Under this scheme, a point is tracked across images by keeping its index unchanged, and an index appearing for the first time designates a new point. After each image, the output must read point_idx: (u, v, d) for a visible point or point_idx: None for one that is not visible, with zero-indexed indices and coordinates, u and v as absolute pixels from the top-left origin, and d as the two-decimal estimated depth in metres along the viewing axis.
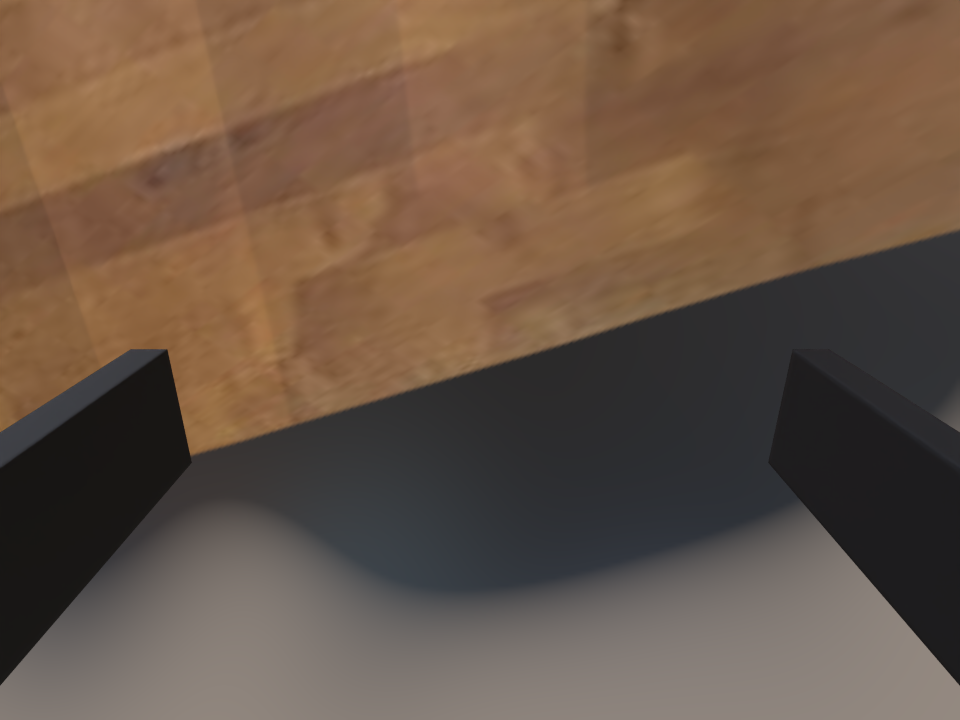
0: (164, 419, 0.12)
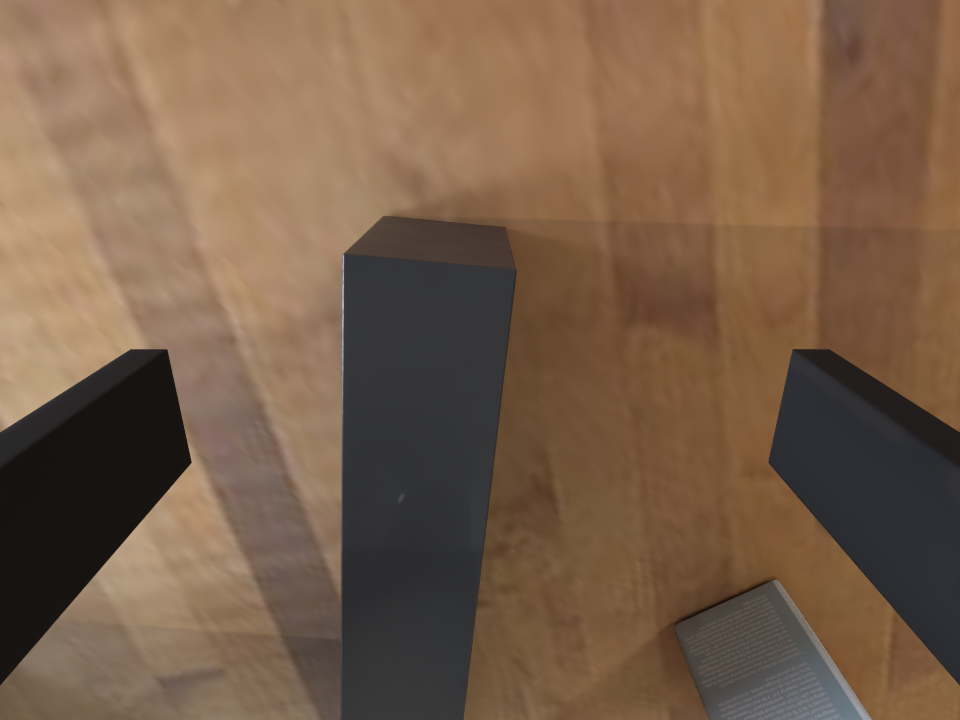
0: (164, 419, 0.12)
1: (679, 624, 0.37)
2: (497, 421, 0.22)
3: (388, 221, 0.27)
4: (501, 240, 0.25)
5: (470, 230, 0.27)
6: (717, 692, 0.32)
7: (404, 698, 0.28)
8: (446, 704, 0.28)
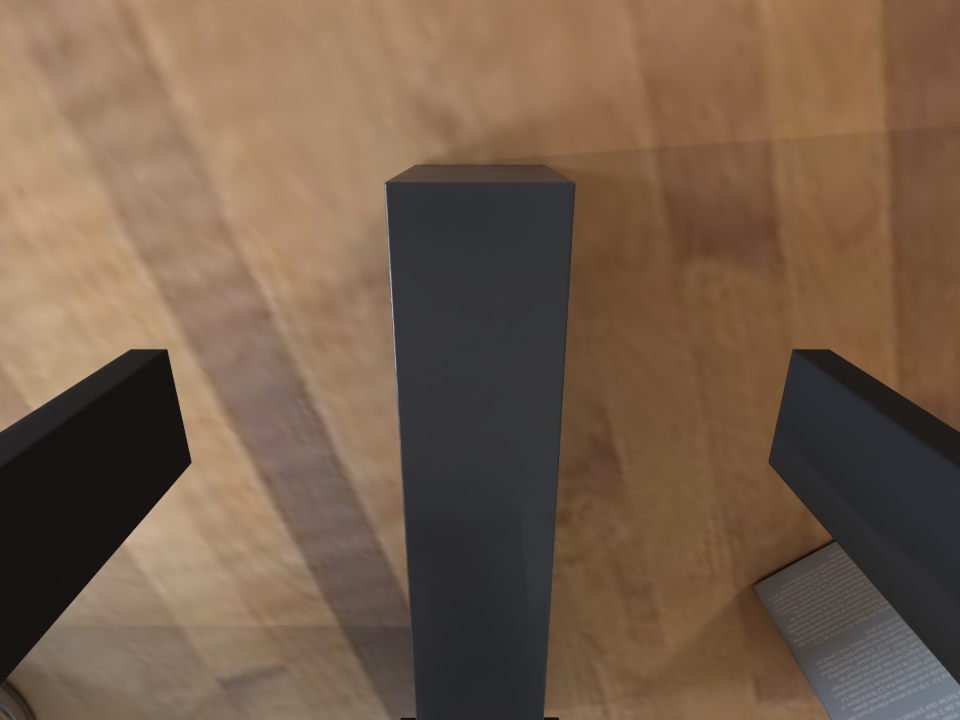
0: (164, 419, 0.12)
1: (759, 584, 0.35)
2: (563, 358, 0.20)
3: (421, 166, 0.25)
4: (546, 170, 0.23)
5: (510, 167, 0.25)
6: (812, 650, 0.30)
7: (481, 674, 0.26)
8: (526, 678, 0.26)
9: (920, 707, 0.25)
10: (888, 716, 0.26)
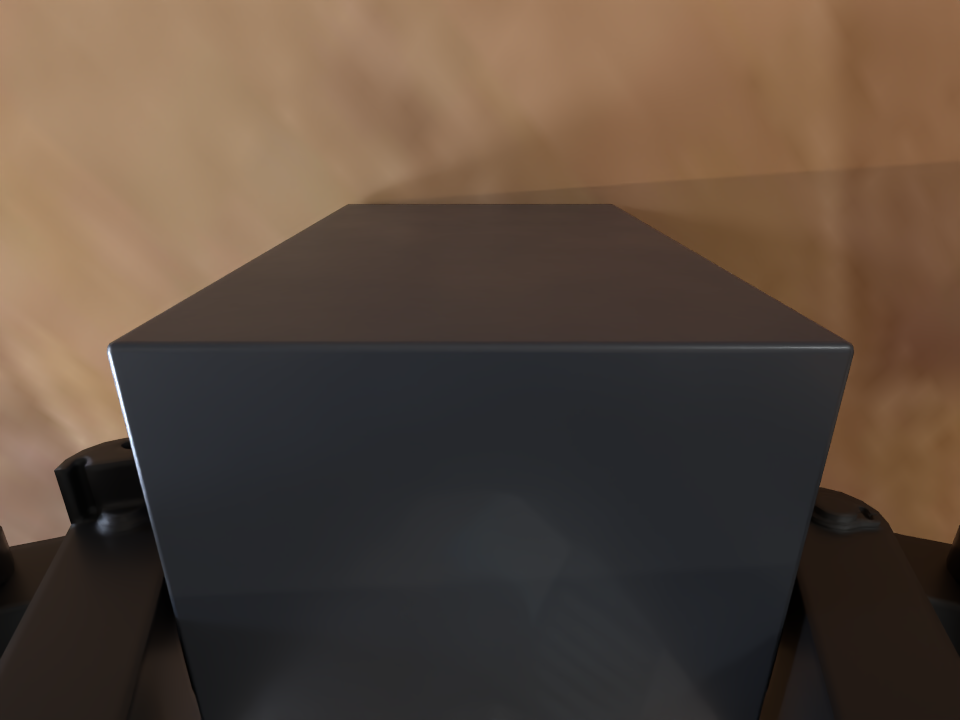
0: None
1: None
2: None
3: (353, 213, 0.12)
4: (641, 231, 0.10)
5: (547, 216, 0.11)
6: None
7: None
8: None
9: None
10: None
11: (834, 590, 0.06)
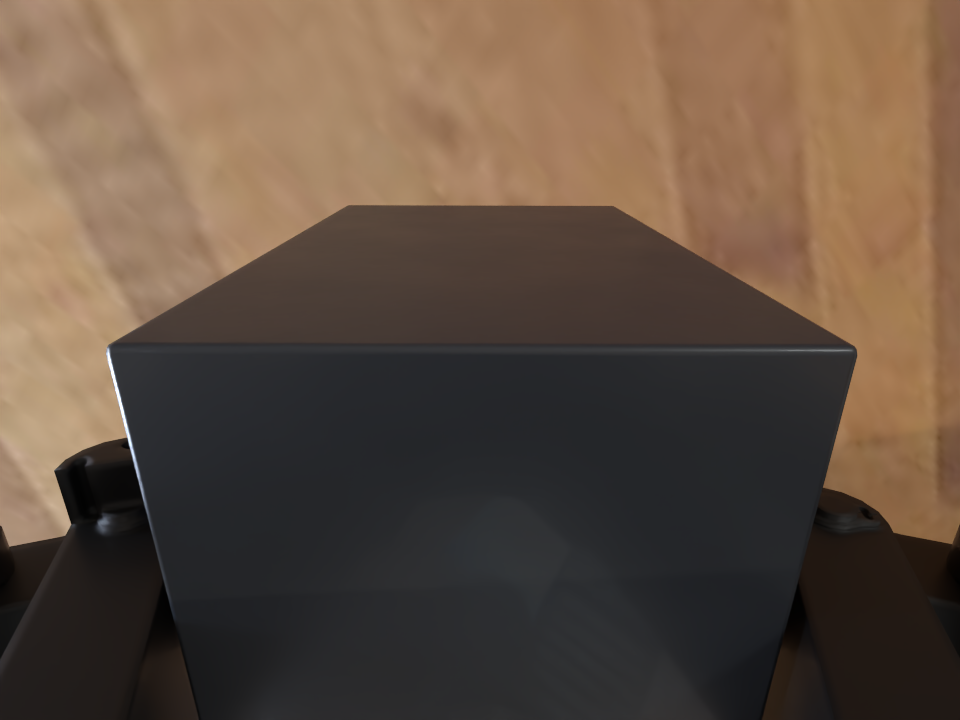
0: None
1: None
2: None
3: (354, 214, 0.11)
4: (643, 233, 0.09)
5: (548, 217, 0.11)
6: None
7: None
8: None
9: None
10: None
11: (834, 590, 0.06)
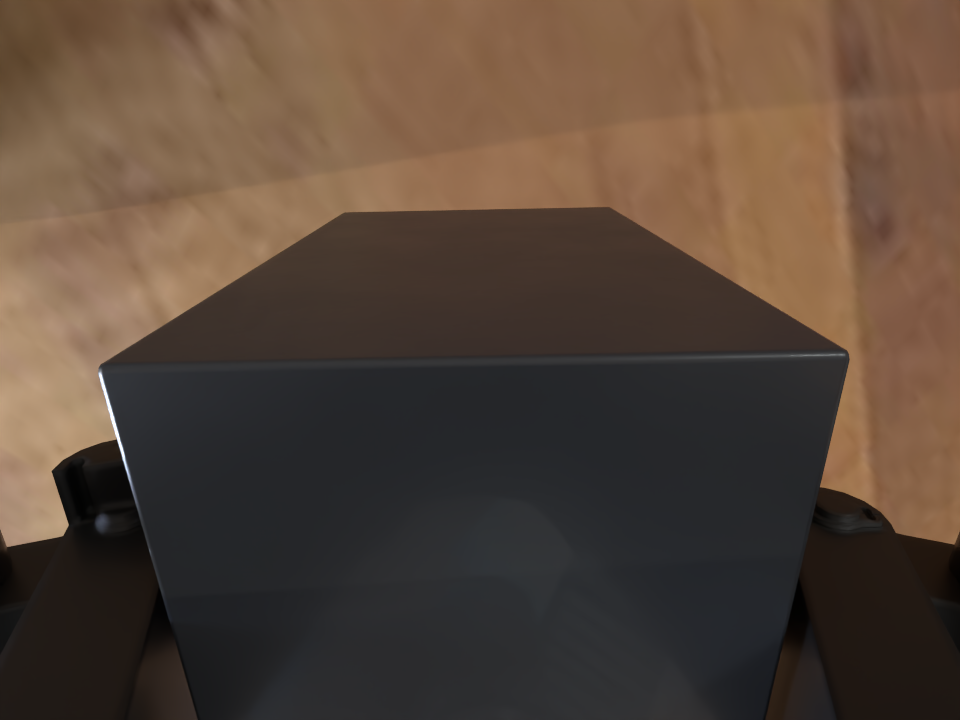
0: None
1: None
2: None
3: (350, 222, 0.11)
4: (638, 235, 0.09)
5: (543, 221, 0.11)
6: None
7: None
8: None
9: None
10: None
11: (837, 590, 0.06)
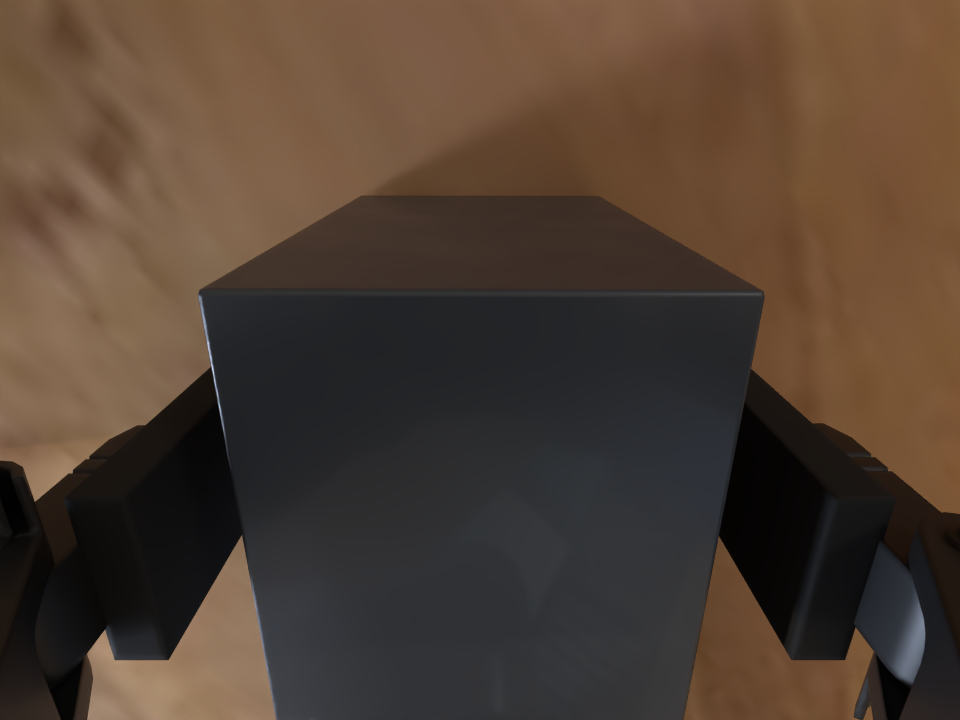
0: None
1: None
2: (686, 694, 0.08)
3: (368, 203, 0.13)
4: (620, 217, 0.11)
5: (539, 205, 0.13)
6: None
7: None
8: None
9: None
10: None
11: None
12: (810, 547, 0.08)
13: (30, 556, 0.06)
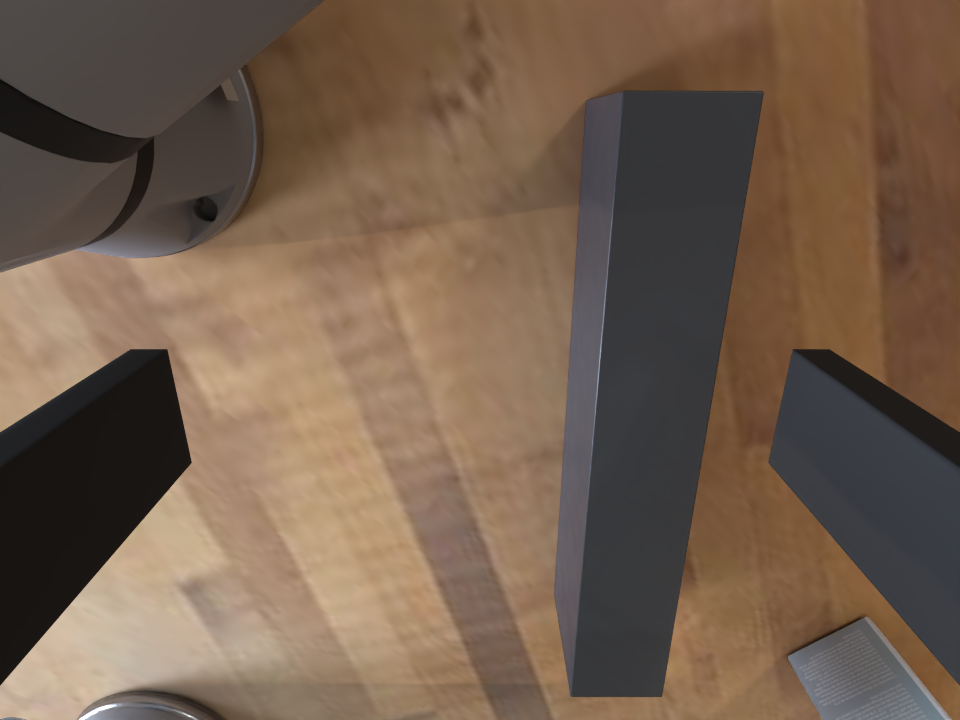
0: (164, 419, 0.12)
1: (792, 655, 0.48)
2: (739, 233, 0.27)
3: None
4: None
5: None
6: (833, 709, 0.43)
7: (641, 509, 0.32)
8: (677, 513, 0.32)
9: None
10: None
11: None
12: None
13: None
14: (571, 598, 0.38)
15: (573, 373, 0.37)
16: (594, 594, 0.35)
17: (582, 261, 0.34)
